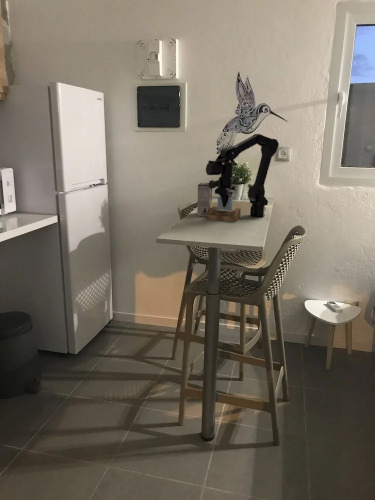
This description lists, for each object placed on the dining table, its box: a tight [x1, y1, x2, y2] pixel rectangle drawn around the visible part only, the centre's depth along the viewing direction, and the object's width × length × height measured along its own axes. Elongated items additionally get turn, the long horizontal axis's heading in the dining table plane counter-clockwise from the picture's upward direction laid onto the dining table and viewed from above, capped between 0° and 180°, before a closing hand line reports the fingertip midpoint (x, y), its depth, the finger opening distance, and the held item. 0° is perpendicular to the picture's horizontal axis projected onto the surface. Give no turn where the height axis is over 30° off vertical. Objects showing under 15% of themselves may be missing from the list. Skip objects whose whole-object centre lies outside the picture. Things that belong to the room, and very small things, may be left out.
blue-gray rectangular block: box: [216, 196, 234, 211], centre depth 196 cm, size 7×2×6 cm, turn 70°
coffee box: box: [196, 182, 213, 218], centre depth 205 cm, size 9×6×16 cm
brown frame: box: [207, 205, 242, 223], centre depth 198 cm, size 14×10×5 cm
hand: (224, 206), depth 197 cm, fingers closed on blue-gray rectangular block, 2 cm apart
